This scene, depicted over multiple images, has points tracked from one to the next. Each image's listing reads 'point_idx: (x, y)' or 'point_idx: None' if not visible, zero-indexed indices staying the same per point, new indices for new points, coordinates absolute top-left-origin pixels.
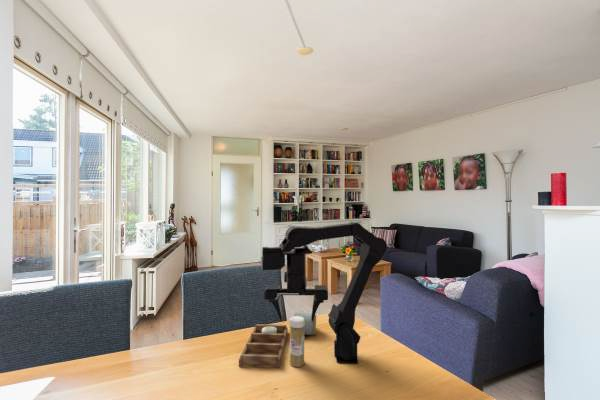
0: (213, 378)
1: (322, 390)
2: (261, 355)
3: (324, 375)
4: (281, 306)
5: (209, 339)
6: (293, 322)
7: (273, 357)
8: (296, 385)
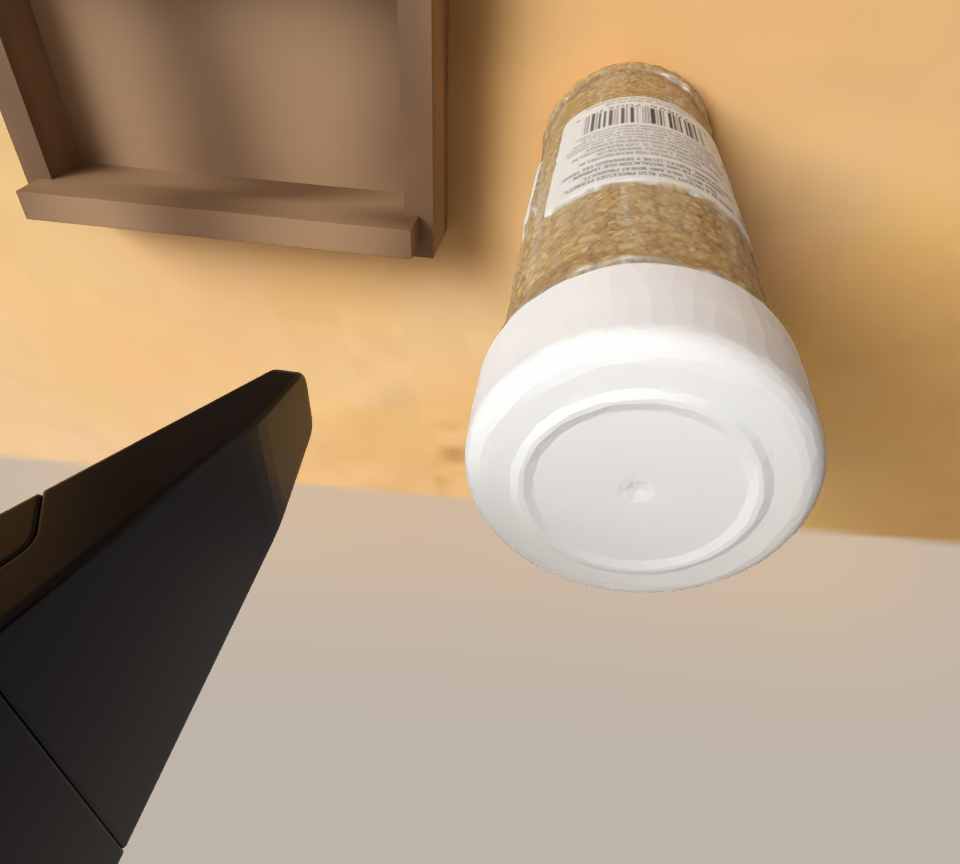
0: (4, 334)
1: None
2: (230, 226)
3: (854, 353)
4: (105, 562)
5: None
6: (548, 565)
7: (363, 252)
8: None
